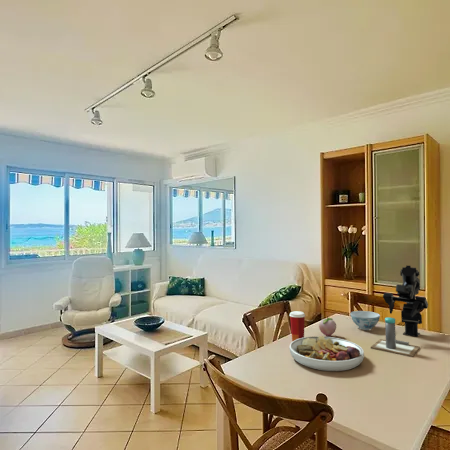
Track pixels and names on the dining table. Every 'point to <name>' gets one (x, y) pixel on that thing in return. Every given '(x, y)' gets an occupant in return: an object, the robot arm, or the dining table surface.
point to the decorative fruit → (327, 326)
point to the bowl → (326, 353)
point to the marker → (390, 333)
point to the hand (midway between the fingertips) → (400, 315)
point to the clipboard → (397, 348)
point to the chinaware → (365, 319)
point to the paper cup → (297, 324)
